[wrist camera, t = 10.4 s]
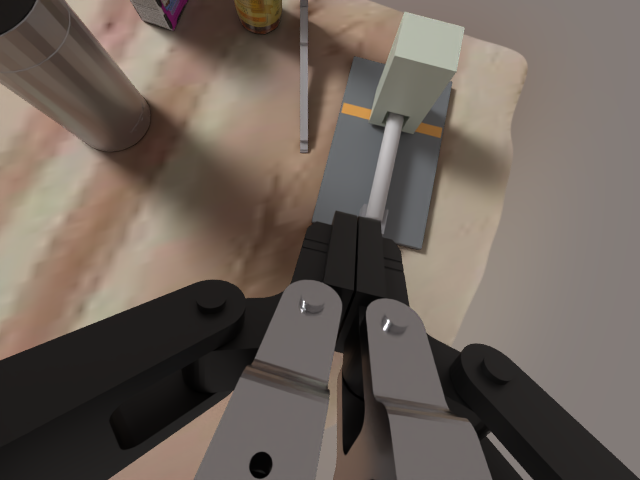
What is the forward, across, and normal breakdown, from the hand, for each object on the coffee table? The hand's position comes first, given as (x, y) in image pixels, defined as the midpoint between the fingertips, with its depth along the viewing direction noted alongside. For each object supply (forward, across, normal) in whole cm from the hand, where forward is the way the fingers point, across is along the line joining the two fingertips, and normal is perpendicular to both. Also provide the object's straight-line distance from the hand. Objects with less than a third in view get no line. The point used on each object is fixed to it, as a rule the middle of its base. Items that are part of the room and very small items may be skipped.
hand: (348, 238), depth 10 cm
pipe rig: (+33, -5, +6) cm, 34 cm away
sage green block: (+35, -5, +2) cm, 36 cm away
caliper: (+38, +8, +2) cm, 39 cm away
